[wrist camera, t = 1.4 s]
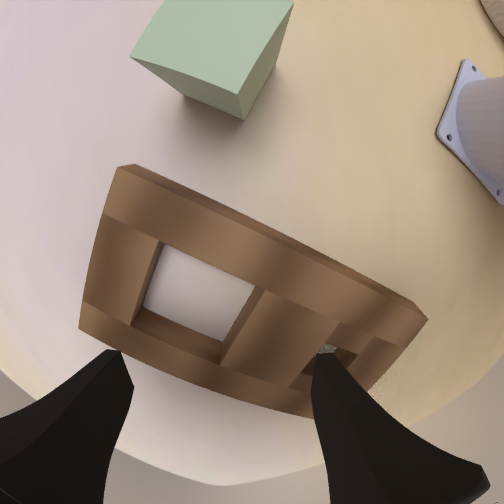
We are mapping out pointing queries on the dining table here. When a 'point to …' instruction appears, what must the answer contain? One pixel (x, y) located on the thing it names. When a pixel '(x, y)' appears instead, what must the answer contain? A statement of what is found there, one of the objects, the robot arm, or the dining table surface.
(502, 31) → the ramekin
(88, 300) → the socket board
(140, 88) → the dining table surface
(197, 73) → the peg
